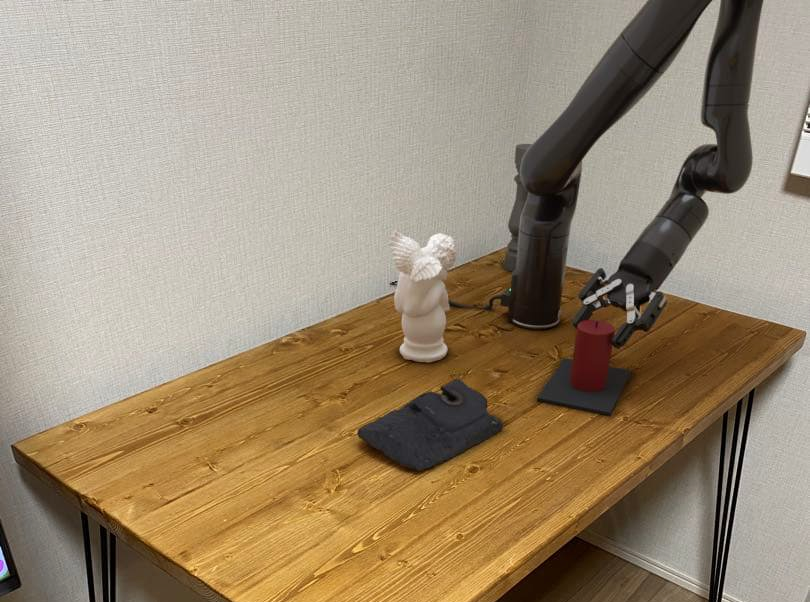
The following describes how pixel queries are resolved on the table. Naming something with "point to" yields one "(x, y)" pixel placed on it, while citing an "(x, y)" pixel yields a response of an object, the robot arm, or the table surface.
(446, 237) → the cherub figurine
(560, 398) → the mat
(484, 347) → the table surface
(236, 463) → the table surface
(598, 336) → the candle
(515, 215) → the candle holder
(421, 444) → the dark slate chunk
